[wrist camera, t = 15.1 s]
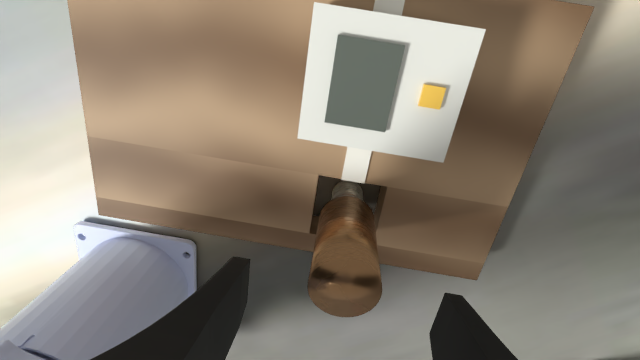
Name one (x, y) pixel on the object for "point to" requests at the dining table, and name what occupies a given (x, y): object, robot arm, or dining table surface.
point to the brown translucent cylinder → (345, 255)
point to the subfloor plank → (284, 115)
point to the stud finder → (385, 81)
